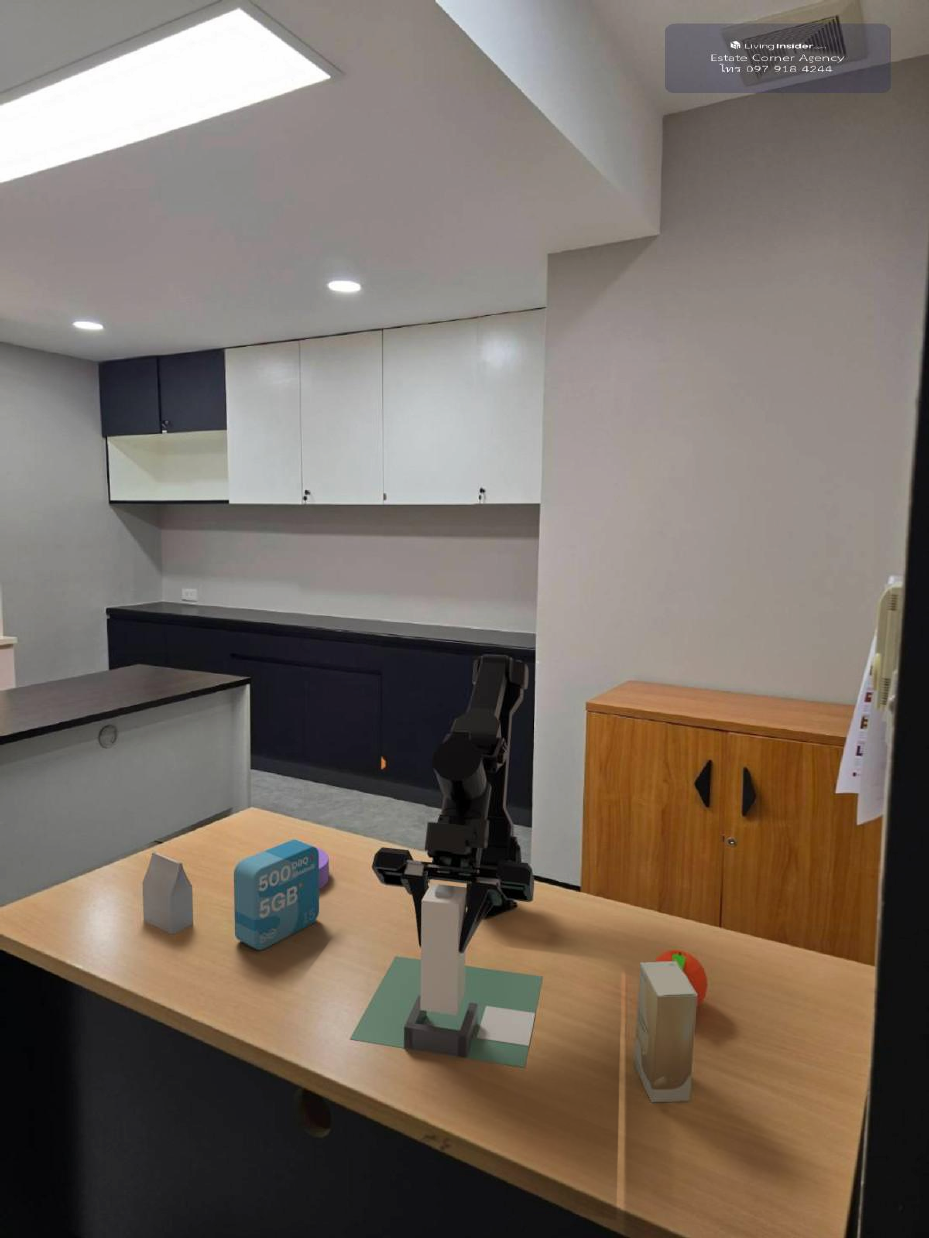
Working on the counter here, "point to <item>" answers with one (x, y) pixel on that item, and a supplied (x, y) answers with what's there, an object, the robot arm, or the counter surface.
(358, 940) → the counter surface
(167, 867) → the grey milk carton
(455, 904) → the white tall block
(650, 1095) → the skincare box
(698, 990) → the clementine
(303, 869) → the data package
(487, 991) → the board
